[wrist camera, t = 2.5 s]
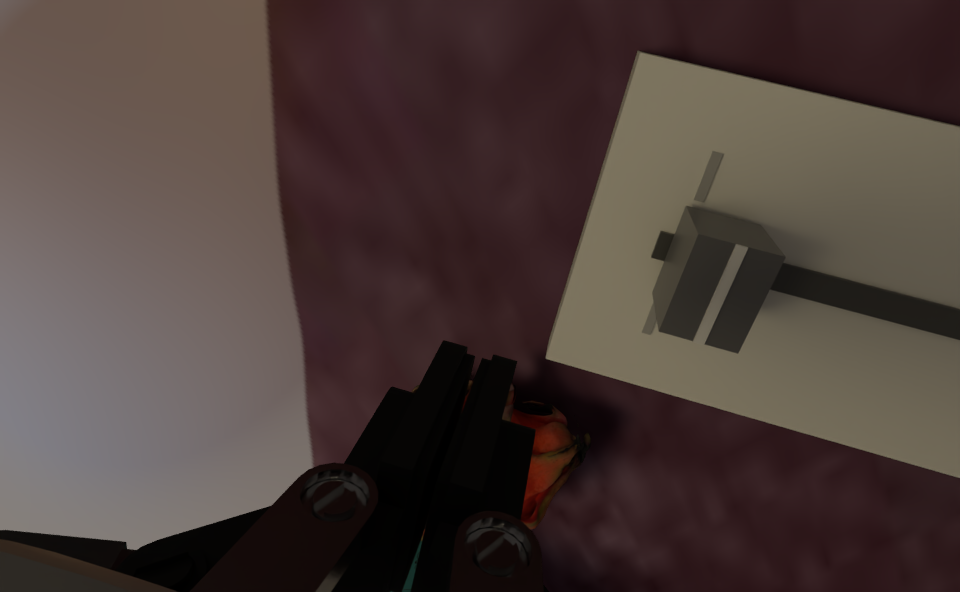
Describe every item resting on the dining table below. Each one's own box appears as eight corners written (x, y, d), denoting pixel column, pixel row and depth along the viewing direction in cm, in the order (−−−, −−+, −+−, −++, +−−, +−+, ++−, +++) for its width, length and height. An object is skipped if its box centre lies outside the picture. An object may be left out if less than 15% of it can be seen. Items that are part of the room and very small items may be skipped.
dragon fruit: (385, 403, 36) (575, 365, 34) (404, 549, 33) (609, 516, 32) (321, 397, 27) (568, 345, 26) (342, 589, 25) (613, 548, 23)
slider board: (637, 50, 23) (640, 52, 21) (1339, 214, 21) (1415, 234, 19) (549, 338, 29) (545, 360, 28) (1079, 489, 27) (1116, 525, 25)
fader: (685, 205, 23) (698, 234, 20) (760, 224, 23) (786, 257, 19) (652, 292, 25) (658, 332, 21) (721, 311, 24) (738, 355, 21)
